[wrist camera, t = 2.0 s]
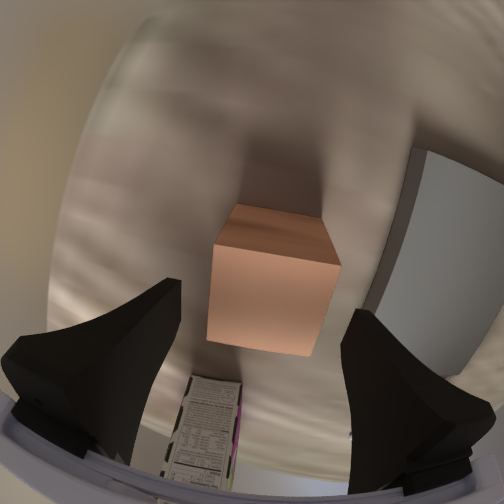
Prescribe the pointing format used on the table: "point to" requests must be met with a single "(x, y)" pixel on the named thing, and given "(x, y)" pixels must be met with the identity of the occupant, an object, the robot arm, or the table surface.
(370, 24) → the table surface
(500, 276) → the board
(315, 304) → the block
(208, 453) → the candy bar box
